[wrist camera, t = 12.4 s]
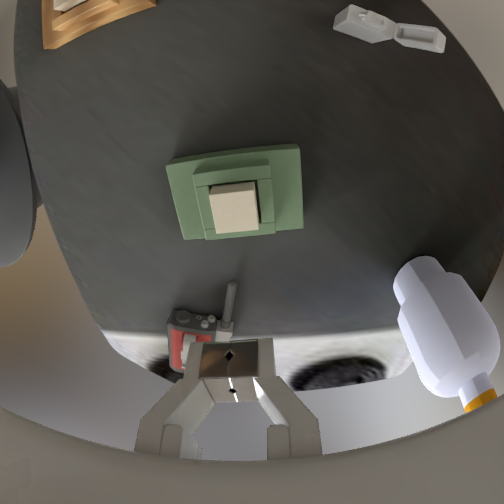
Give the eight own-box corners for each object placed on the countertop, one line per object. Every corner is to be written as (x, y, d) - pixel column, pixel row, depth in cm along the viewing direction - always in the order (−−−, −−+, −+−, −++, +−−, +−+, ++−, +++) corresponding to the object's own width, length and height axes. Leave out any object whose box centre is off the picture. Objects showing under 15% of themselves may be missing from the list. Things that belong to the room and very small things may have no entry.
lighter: (332, 29, 18) (363, 11, 12) (335, 14, 18) (366, -8, 11) (400, 55, 19) (447, 53, 12) (403, 41, 18) (450, 35, 12)
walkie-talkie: (223, 367, 44) (243, 275, 34) (222, 389, 41) (242, 300, 30) (171, 358, 44) (169, 263, 33) (166, 380, 40) (160, 287, 29)
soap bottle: (415, 232, 30) (524, 406, 10) (457, 261, 32) (542, 400, 12) (367, 292, 35) (426, 468, 15) (413, 311, 37) (470, 452, 17)
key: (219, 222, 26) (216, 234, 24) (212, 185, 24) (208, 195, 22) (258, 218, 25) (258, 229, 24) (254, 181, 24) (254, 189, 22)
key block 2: (188, 229, 30) (180, 250, 27) (171, 158, 26) (159, 171, 22) (300, 218, 29) (306, 237, 26) (296, 143, 25) (303, 153, 22)
